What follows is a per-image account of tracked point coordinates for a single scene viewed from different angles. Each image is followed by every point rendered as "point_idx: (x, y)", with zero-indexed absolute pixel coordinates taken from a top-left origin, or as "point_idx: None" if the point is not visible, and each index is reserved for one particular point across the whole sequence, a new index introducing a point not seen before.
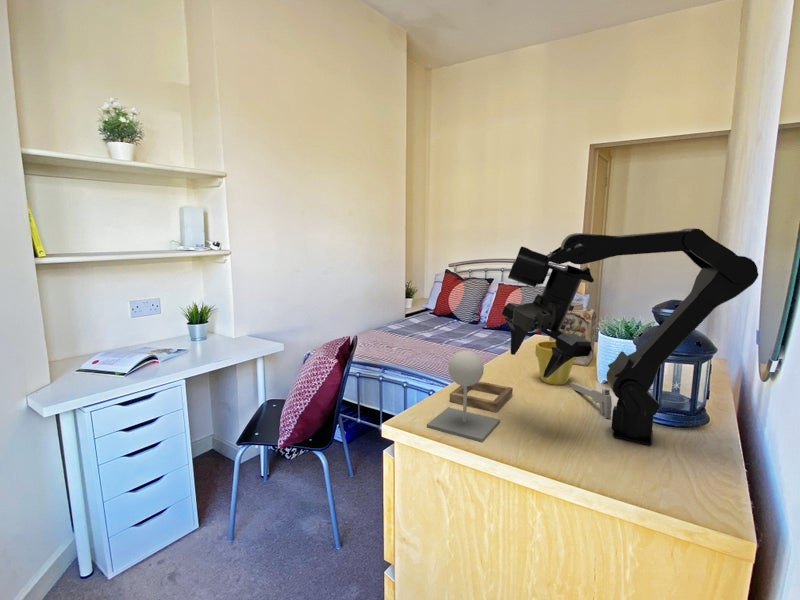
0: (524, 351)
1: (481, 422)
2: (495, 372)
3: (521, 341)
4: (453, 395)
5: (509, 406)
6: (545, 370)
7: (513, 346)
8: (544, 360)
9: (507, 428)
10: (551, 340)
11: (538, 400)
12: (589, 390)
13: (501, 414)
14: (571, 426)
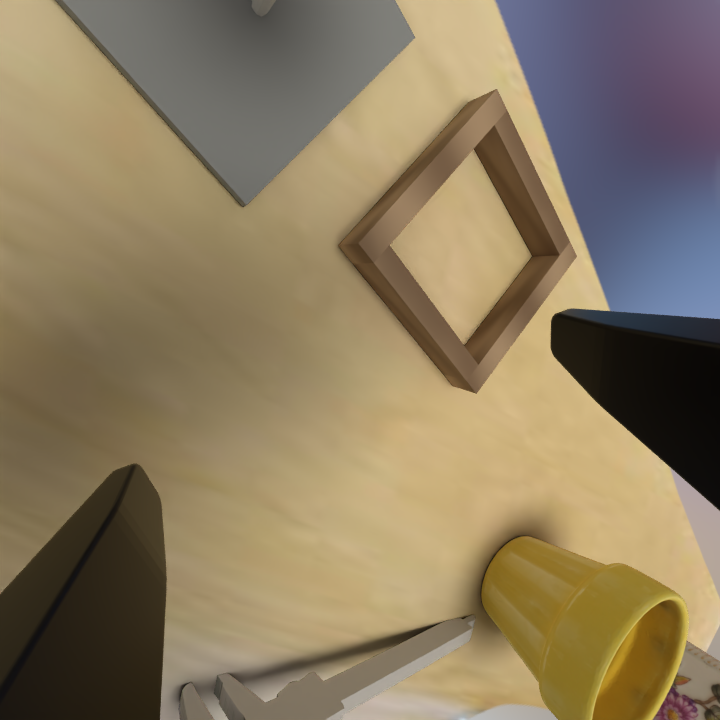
0: (676, 546)
1: (232, 89)
2: None
3: (678, 453)
4: (482, 102)
5: (376, 331)
6: (104, 510)
7: (629, 329)
8: (579, 585)
9: (170, 206)
10: (689, 651)
11: (395, 468)
12: (357, 691)
13: (316, 258)
14: None
